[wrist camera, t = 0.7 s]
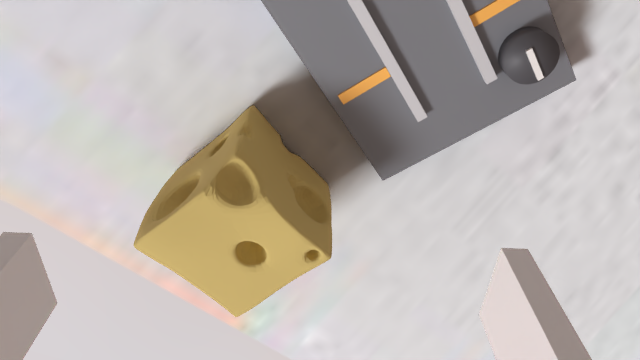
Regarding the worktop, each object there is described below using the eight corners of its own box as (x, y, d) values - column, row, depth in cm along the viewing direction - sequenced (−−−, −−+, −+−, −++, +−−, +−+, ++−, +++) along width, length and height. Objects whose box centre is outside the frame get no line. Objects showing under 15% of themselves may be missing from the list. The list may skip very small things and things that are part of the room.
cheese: (252, 99, 37) (232, 162, 28) (337, 187, 41) (341, 264, 33) (166, 171, 40) (125, 246, 32) (252, 245, 45) (236, 328, 36)
